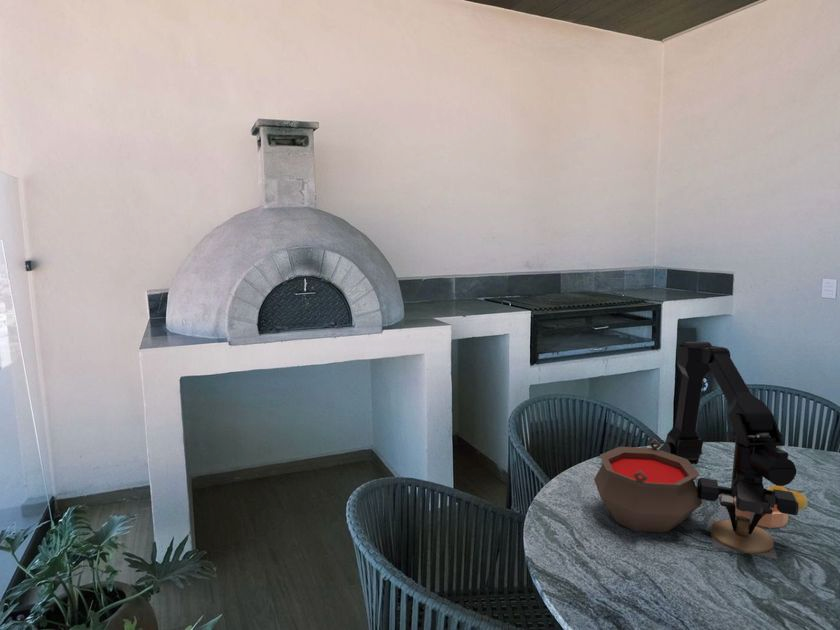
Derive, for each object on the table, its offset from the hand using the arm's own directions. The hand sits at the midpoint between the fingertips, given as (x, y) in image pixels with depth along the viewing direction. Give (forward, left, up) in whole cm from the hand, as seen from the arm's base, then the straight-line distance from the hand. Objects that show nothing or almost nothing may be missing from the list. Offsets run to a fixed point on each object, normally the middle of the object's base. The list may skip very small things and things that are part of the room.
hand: (741, 531), depth 126 cm
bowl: (+5, +13, -2) cm, 14 cm away
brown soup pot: (-20, +2, -2) cm, 20 cm away
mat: (0, 0, -2) cm, 2 cm away
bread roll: (+12, +24, -3) cm, 27 cm away
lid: (0, 0, -1) cm, 1 cm away
